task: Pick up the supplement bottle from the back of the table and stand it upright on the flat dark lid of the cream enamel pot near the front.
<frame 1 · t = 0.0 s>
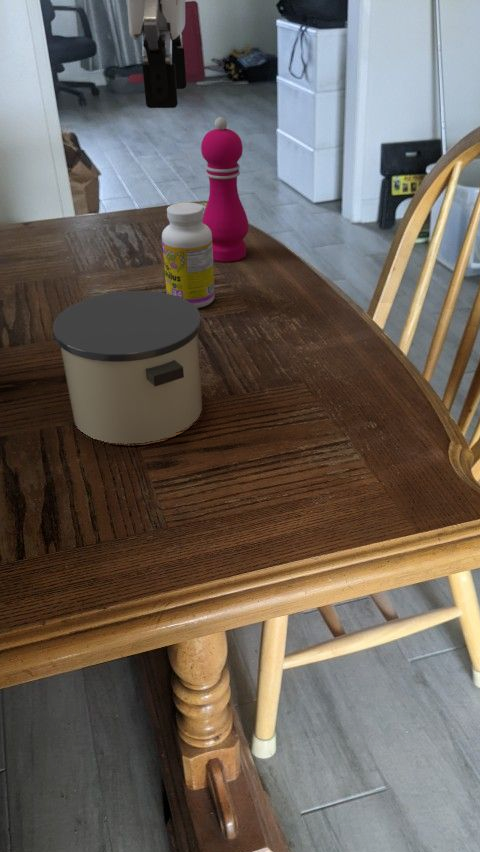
hand: (167, 97, 84), 28 cm above the table, tool pointing down, fingers open, 9 cm apart
pot: (138, 410, 86), on the table
supplement bottle: (191, 302, 109), on the table
pepper mill: (226, 256, 122), on the table
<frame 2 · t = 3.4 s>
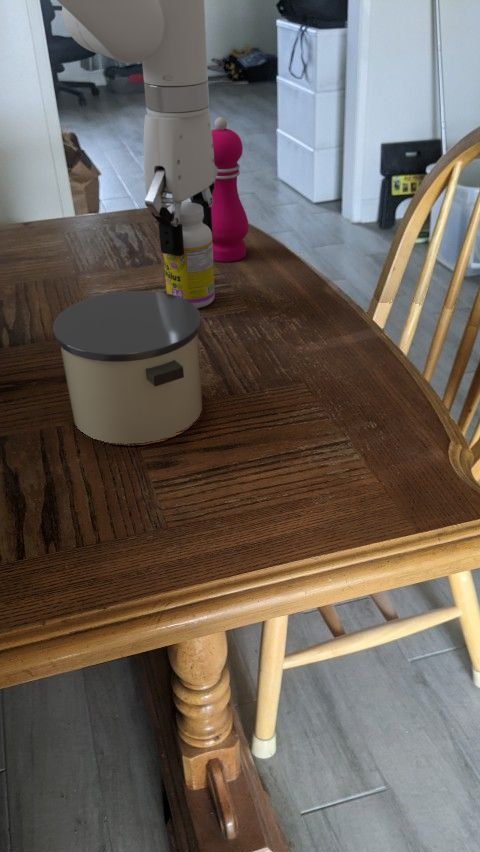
hand: (187, 243, 104), 8 cm above the table, tool pointing down, fingers closed on supplement bottle, 6 cm apart
supplement bottle: (191, 302, 109), on the table, touching gripper
everything else where it was.
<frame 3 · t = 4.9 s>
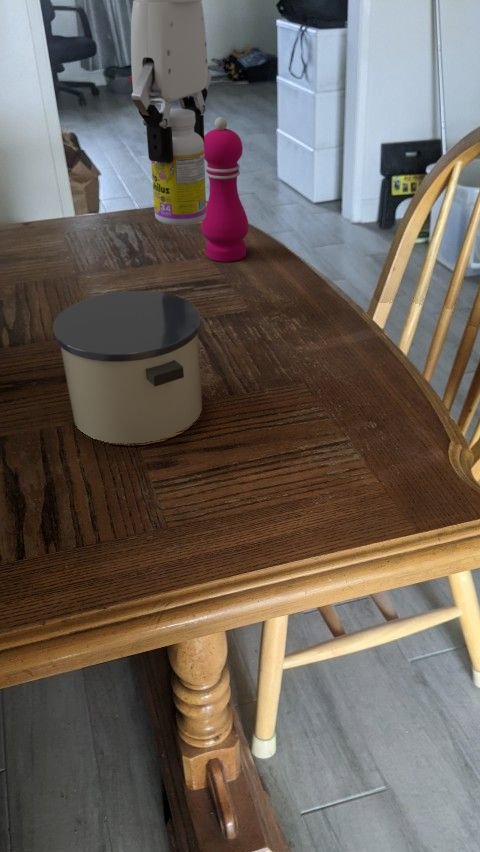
hand: (177, 153, 97), 20 cm above the table, tool pointing down, fingers closed on supplement bottle, 6 cm apart
supplement bottle: (180, 220, 102), point 11 cm above the table, touching gripper
everything else where it was.
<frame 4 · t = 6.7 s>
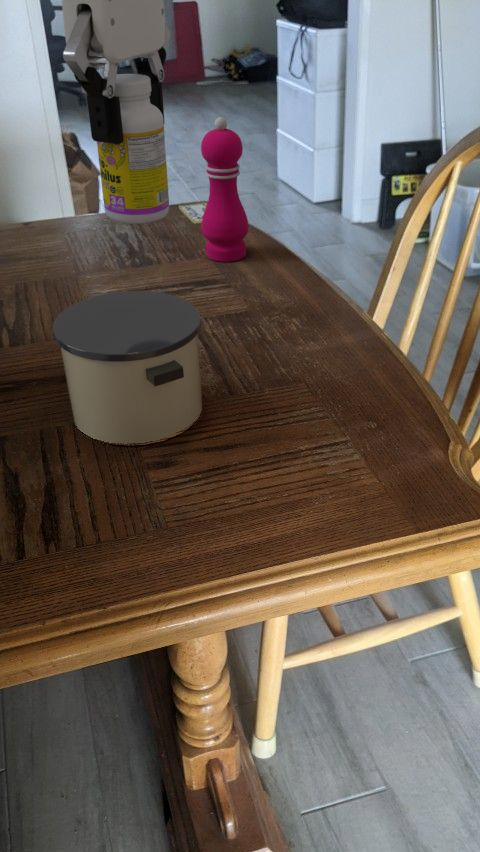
hand: (129, 131, 76), 27 cm above the table, tool pointing down, fingers closed on supplement bottle, 6 cm apart
supplement bottle: (138, 217, 81), point 18 cm above the table, touching gripper
everything else where it was.
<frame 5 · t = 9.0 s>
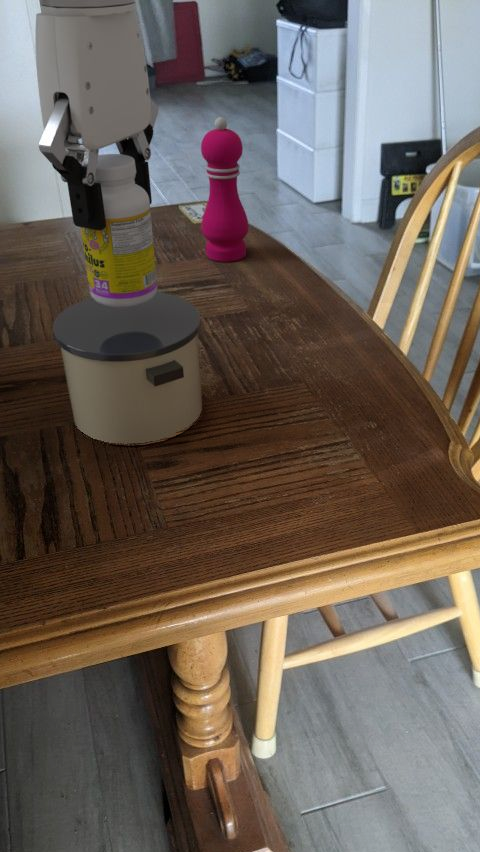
hand: (114, 213, 73), 22 cm above the table, tool pointing down, fingers closed on supplement bottle, 6 cm apart
supplement bottle: (124, 297, 78), point 13 cm above the table, touching gripper
everything else where it was.
when the fingers open (19 cm above the table, at t = 10.4 s): supplement bottle stays where it is, resting on pot.
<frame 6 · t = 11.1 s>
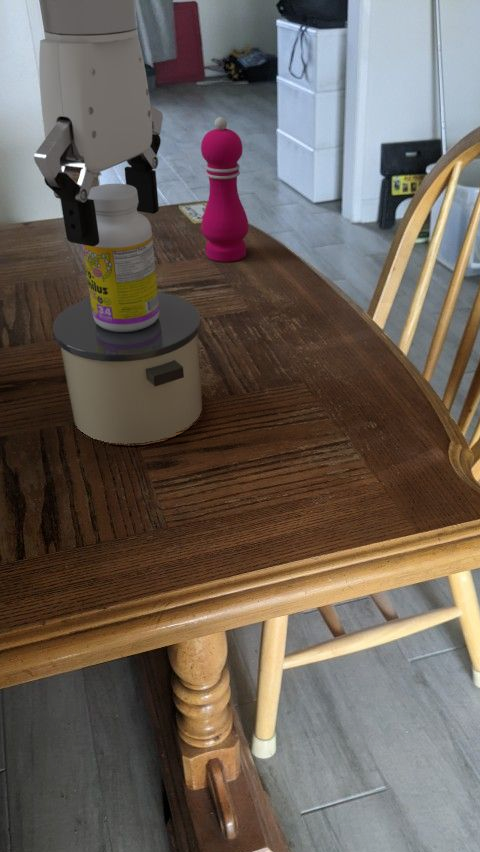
hand: (115, 226, 73), 20 cm above the table, tool pointing down, fingers open, 9 cm apart
supplement bottle: (127, 321, 79), point 11 cm above the table, touching pot
everything else where it was.
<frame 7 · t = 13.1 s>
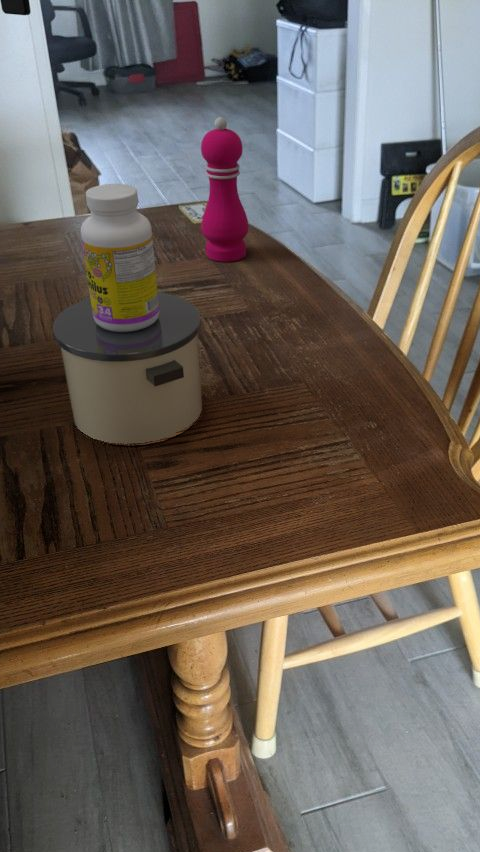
nothing on the table moved.
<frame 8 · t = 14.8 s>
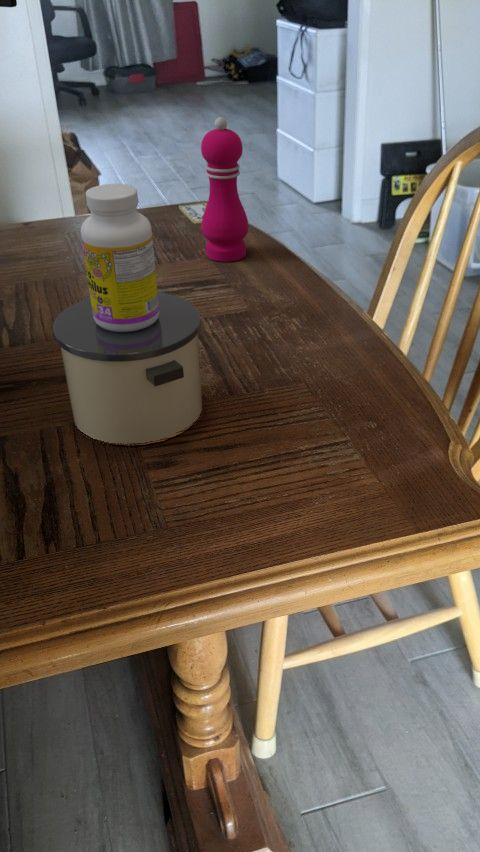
nothing on the table moved.
at the end: supplement bottle 0.0 cm off-centre on the pot, point 10.6 cm above the pot's base; supplement bottle tilted 0°; the gripper is holding nothing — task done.
